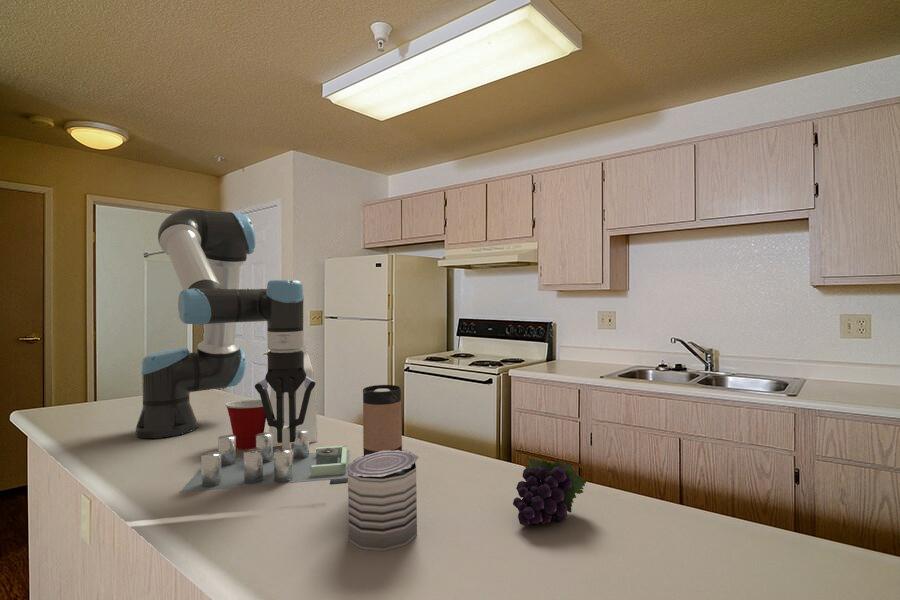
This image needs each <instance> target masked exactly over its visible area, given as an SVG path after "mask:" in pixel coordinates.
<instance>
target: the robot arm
mask: <svg viewBox="0 0 900 600" xmlns="http://www.w3.org/2000/svg"><path fill="white" fill-rule="evenodd" d="M157 240H158V244H159V246H160V248H161V250H162V251H163V253H165V254H166V255H167V256H168V257H169V259H170V261H171V264H172V266H173V269H174V271H175V274H176V276H177V278H178V282H179V283H180V285H181V289H182V290H181V291H180V292H179V294H178V302H177V309H178V314H179V315H178V318H179V319H180V321H181V322H182V323H184V324H187V325H200V326H201V325H204V327H203V340H202V341H201V342H199V343H198V344H197V350H196V351H194V352H190V350H189V349H188V348H187V347H186V348H185V347H184V348H174V349H173V348H172V349H166V350H161V351H157V352H156V351H155V352H152V353H150V354H148V355H146V356H144V357H143V359H142V362H141V364H142V365H141V366H142V367H141V373H140V374H141V377H142V381H141V382H142V408H141V412H140V415H139V417H138V421H137V422H136V423H137V424H136V426H135V427H136V428H135V436H136V437H137V438H139V437H140V439H145V438H155V439H163V438H162V437H166V438H169V437H168V436H172V437H175V436H174V435H177V436H180V435H179V434H182V433H185V434H187V433H186V432H188V433H190V432H189V431H191V430H193V429H195V428H196V427H197V424H198V423H197V421H198V420H197V418H196V415H195V412H194V410H193V407H192V405H191V402H190V393H194V392H202V391H209V390H217V389H218V390H219V389H223V390H224V389H226V388H230V387H235V386H237V385H239V383H241V381H242V380H243V378H244V376H245V370H246V363H247V362H246V353H245V352H244V350H243V349H242V348H241V346H240V344H239V343H238V342H237V341H236V331H237V330H236V328H237V323H252V322H253V323H254V322H257V323H258V322H267V323H266V324H267V330H266V333H267V336H266V337H267V349H268V350H270V351H268V353H267V372H266V373H265V376H264V377H265V378H264V379H262V380H260V381H257V383H255V385H254V388H255V390H256V391H257V392H258V393H259V397H260V400H261V401H262V404H263V408H264V412H265V415H266V422H267V426H270V427H271V426H273V427H276V429H277V442H278V443H282V446H281V448H291V449H292V444H291V442H295V439H296V426H298V425H302V424H303V422H304V419H305V415H306V411H307V407H308V403H309V399H310V394H311V391H312V389H313V388H314V386H316V384H317V380H316V379H314V380H312V379H310V378H308V377H307V376H306V373H305V371H304V352H303V351H302V350H301V349H302V348H303V347H304V346H305V344H304V343H305V342H304V339H305V338H304V336H305V335H304V332H305V330H304V299H305V295H304V289H303V288H304V287H303V283H302V282H301V281H300V280H297V279H295V280H293V279H292V280H291V279H271V280H269V281H268V282H267V283H266V284H267V285H266V288H253V289H252V288H241V289H240V277H241V276H240V275H241V274H240V273H241V266H242V265H243V264H244V263H246V262H247V258H248V257H247V256H248V255H250V254H253V253H254V251H255V248H256V233H255V227H254V225H253V223H252V220H251V219H250V218H249V216H248V215H247V214H244V213H239V212H233V211H221V210H210V209H209V210H208V209H200V208H185V209H180V210H177V211H175V212H173V213H171V214H170V215H168V216H167V217H166V218H165V219H164V220H163V221H162V223H161V224H160V226H159V228H158V231H157ZM303 381H304V382H305V385H304V387H305V388H306V391H305V394H304V398H303V402H302V406H301V410H300V414H299V418H298V419H296V391H297V389H298V388H299V387H300V385H301V384H302V383H303ZM269 386H270V388H271V387H272V388H273V390H274V391H275V392H276V409H277V420H276V419H275V416H274V413H273V409H272V405H271V402H270V395H269V391H268V387H269ZM285 392H287V393H288V397H289V426H284V393H285ZM197 428H198V427H197ZM197 428H196V429H197ZM196 429H195V430H196ZM193 431H194V430H193ZM191 432H192V431H191ZM182 435H183V434H182Z"/></svg>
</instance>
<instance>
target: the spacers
mask: <svg viewBox="0 0 900 600" xmlns="http://www.w3.org/2000/svg"><path fill="white" fill-rule="evenodd" d="M217 439H218V440H217V441H218V444H217V445H218V446H217V447H218V450H217V451H213V450H212V451H208V452H204V453H202V454H201V456H200V457H201V459H200V463H201V465H200V466H201V468H200V469H201V473H202V487H214V486H217V485H220V484H221V483H222V475H221V466H230V465H233V464H235V463H236V459H237V448H236V436H235V435H233V434H225V435H221V436H218V438H217ZM292 446H293V447H291V448H282V447H281V448H277V449H275V450H274V446H273V433H270V432H269V431H267V432H265V431H264V433H259V434H257V435H256V448H253V449H245V450H244V451H243V458H244V483H246V484H254V483H258V482H261V481H262V480H263V463H268V462H271V461H273V456H274V482H276V483H284V484H287V483H286V482H289V481H291V480H292V479H293V462H292V454H293V458H294V459H304V458H307V457H309V453H310V442H309V430H308V429H298V430H296V439H295V442H293V444H292Z"/></svg>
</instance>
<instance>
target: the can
mask: <svg viewBox="0 0 900 600" xmlns="http://www.w3.org/2000/svg"><path fill="white" fill-rule="evenodd" d="M419 458H420V456H418V455H417V454H415V453H414V452H411V451H409V450H407V449H402V450H395V451H379V452H376V453H372V454H369V455H365V456H364V455H362V456H358V457H356V458H354V460H352V461H351V462H349V465H348V466H347V467H346V468H345V469H346V470H347V471H348V482H347V494H348V495H347V497H348V499H347V501H348V502H347V503H348V509H347V510H348V542H350V543H351V544H352V545H354V546H356V547H357V548H358V549H360V550H361V551H373V552H386V551H390V550H394V549H398V548H402V547H405V546H407V545H408V544H409V543H410V542H411V541H413V540H414V539H415V538H416V537H417V536H418V515H417V514H418V511H417V510H418V507H417V502H418V501H417V497H418V496H417V495H418V494H417V465H416V462H417V460H419Z"/></svg>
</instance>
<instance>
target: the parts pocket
mask: <svg viewBox="0 0 900 600" xmlns="http://www.w3.org/2000/svg"><path fill="white" fill-rule="evenodd" d="M325 448H335V449H338V456H342V457H341V463H335V464H322V465H312V466H311V477H312V476H324V475H336V474H346V469H345V468H346V461H347V450H348V446H347V445H335V446H333V445H332V446H321V447H319V446H318V447H316V448H315V453H317V450H321V449H325Z"/></svg>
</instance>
